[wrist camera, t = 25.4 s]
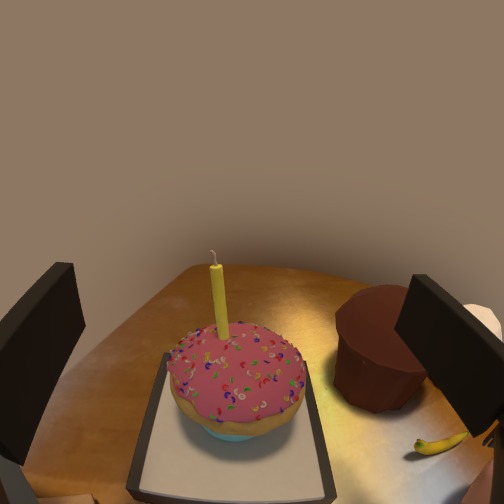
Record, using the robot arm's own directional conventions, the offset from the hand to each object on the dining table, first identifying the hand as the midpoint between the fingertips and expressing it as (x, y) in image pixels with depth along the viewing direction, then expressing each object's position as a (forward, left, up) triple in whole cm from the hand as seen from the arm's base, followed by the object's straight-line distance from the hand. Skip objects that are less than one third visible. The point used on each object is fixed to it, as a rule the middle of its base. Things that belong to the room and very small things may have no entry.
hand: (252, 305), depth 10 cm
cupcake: (0, +4, -12) cm, 13 cm away
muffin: (+14, +10, -15) cm, 23 cm away
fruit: (+17, 0, -15) cm, 23 cm away
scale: (0, +4, -15) cm, 16 cm away
